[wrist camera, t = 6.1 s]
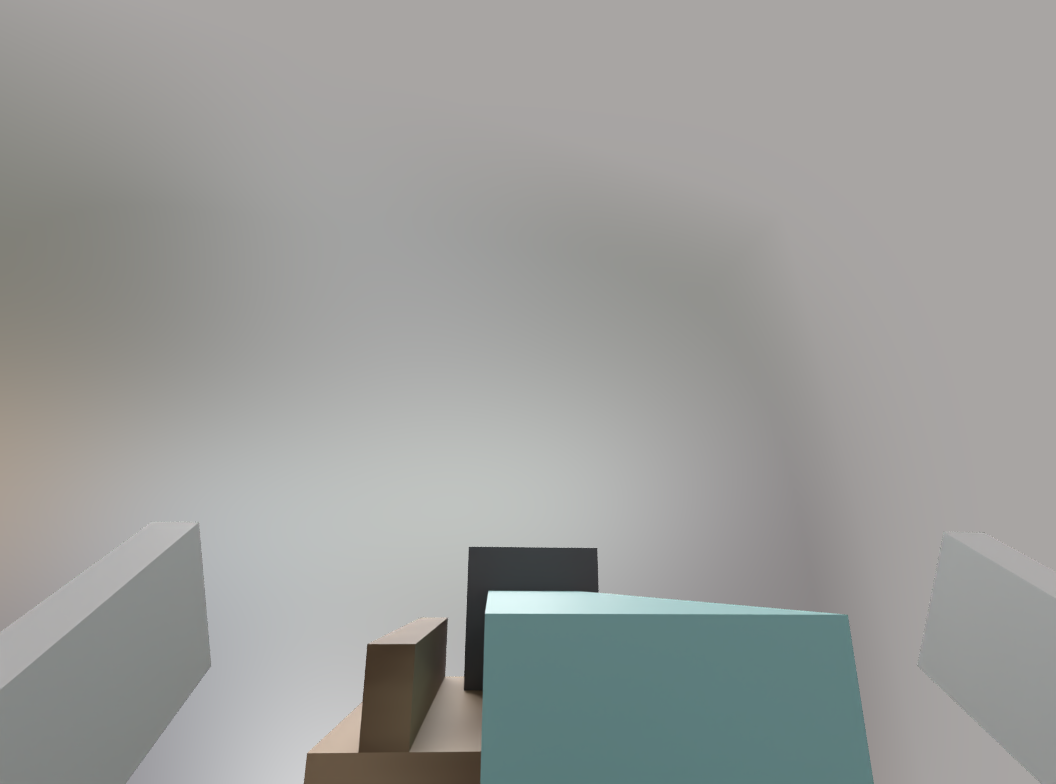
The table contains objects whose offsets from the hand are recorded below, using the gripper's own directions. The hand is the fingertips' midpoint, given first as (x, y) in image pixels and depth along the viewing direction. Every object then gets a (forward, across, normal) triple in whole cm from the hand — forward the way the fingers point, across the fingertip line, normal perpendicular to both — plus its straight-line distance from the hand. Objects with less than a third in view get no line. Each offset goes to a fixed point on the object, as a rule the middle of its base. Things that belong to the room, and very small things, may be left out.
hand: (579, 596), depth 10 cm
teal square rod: (+2, 0, -5) cm, 5 cm away
